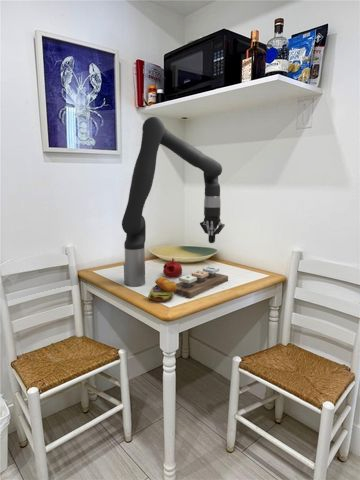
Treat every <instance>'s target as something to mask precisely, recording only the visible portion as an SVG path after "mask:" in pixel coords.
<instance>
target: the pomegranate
mask: <svg viewBox="0 0 360 480" xmlns="http://www.w3.org/2000/svg"><path fill="white" fill-rule="evenodd" d="M180 262H181V261H179V260H177V261H175V258H174V257H173V258H172V259H171V260H168V261H167V260H166V262H165V263H164V265H163V270H162V272H163V276H164V277H167V278H170V279H172V278H174V279H175V278H180V277H181V276H182V274H183V268H182V267H183V266H182V265H181V264H180Z"/></svg>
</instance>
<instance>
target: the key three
mask: <svg viewBox="0 0 360 480" xmlns="http://www.w3.org/2000/svg"><path fill="white" fill-rule="evenodd" d="M202 271H204V272H208V273H209V276H207V277H210V278H213V277H215V273H219V272H220V268H219V267H215V266H207V267H204V268H203V269H202Z"/></svg>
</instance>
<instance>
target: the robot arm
mask: <svg viewBox="0 0 360 480" xmlns="http://www.w3.org/2000/svg"><path fill="white" fill-rule="evenodd" d="M141 130H142V132H141V133H142V135H141V142H140V143H141V144H140V149H139V152H138V155H137V158H136V161H135V165H134V168H133V172H132V175H131V180H130V181H131V182H130V188H129V192H128V200H127V204H126V208H125V210H124V214H123V217H122V220H121V228H122V230H123V231H124V233H125V234H126V237H125V241H124V263H123V283H125V285H127V286H129V287H141V286H143V285H145V284H146V256H145V255H146V253H145V248H146V247H145V246H146V245H145V243H146V228H147V227H146V226H147V225H146V224H147V223H146V219H145V217H144V216H143V212H144V206H145V204H146V201H147V199H148V197H149V195H150V192H151V189H152V187H153V183H154V178H155V174H156V173H155V172H156V166H157V158H158V157H157V156H158V151H159V147H160V145H162V146H163V147H165V148H167V149H168V150H170V151H171V152H173V153H174V154H175V155H177V156H178V157H179V158H181V159H182V160H184V161H185V162H187V163H188V164H189V165H191V166H193V167H194V168H198V169H199V170H201V171H202V172H203V180H204V182H203V183H204V200H203V216H204V217H203V221H201V222H199V226H200V228H202V231H203V232H204V233H205V234H206V235H208V240H207V241H208V243H209V244H215V242H216V235H219V234H220V233H221V231H222V230H223V229H224V228H225V223H222V221H221V205H222V204H221V186H220V183H219V176H221V174H222V172H223V166H222V164H221V163H220V162H218V161H217V160H215V159H214V158H212V157H210V156H208V155H206V154H205V153H203V152H202V151H201V150H199V149H197V148H196V147H195V146H194V145H192V144H190V143H189V142H186V141H185V140H183V139H181V138H179V137H177V136H176V135H175V134H173V133H172V132H171V131H170V130H168V129H167V128H166V127H165V125H164V122H163V121H162V120H161V119H160V118H159V117H156V116H151V117H150V116H149V117H148V118H147V119H146V120H145V121H144V122H143V123H142V129H141Z"/></svg>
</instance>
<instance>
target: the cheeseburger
mask: <svg viewBox="0 0 360 480" xmlns="http://www.w3.org/2000/svg"><path fill="white" fill-rule="evenodd" d="M154 283H155V285H154V286H153V287H152V288H151V289H150V291H149V293H148V298H149V300H153V301H156V302H162V303H163V302H169V301H170V300H171V299H172V298H174V296H175V294H174V291H176V289H177V286H176V284H177V283H176V282H175V281H173V280H172V281H170V280H169V279H168V277H167V278H166V276H159V277H158V278H156V280H155V281H154Z"/></svg>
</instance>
